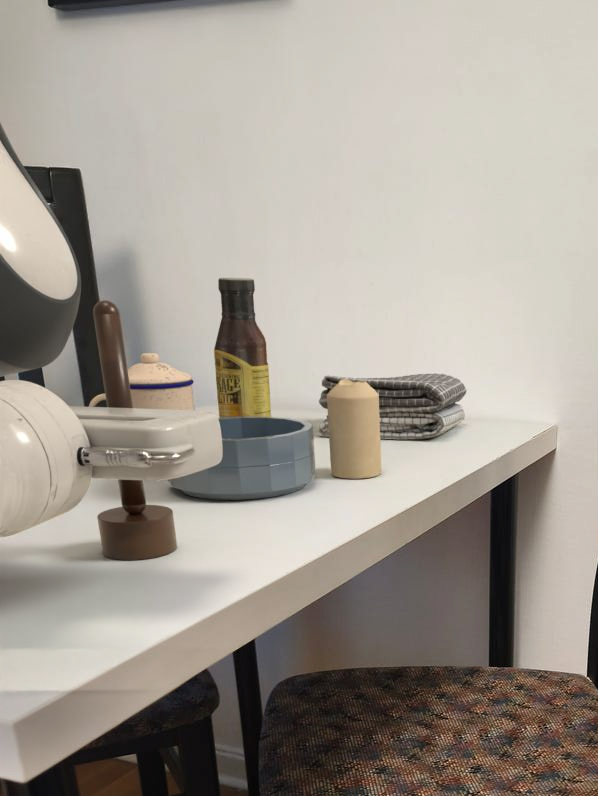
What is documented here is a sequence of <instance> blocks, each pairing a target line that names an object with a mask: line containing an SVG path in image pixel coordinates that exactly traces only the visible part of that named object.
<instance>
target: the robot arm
mask: <svg viewBox="0 0 598 796" xmlns="http://www.w3.org/2000/svg"><path fill="white" fill-rule="evenodd" d="M81 292H82V275H81V271H80V266H79V262H78V258H77V256H76V253H75V251H74V249H73V246H72V244H71V242H70V240H69V238H68V236H67V233H66V232H65V230H64V228H63V226H62V225H61V223H60V221H59V220H58V218H57V216H56V214H55V213H54V211H53V209H52V208H51V207H50V205H49V203H48V202H47V200H46V198H45V197H44V195H43V194H42V192H41V191H40V189H39V188H38V186H37V185H36V183H35V182H34V180H33V179H32V177H31V176H30V174H29V173H28V171H27V169H26V167H25V166H24V165H23V163H22V161H21V159H20V157H19V156H18V155H17V153H16V151H15V149H14V147H13V145H12V144H11V141H10V140H9V137H8V135H7V133H6V131H5V129H4V127H3V125H2V123H1V122H0V378H1V377H5V376H10V375H14V374H19V373H23V372H29V371H32V370H36V369H40V368H41V369H42V368H44V367H46V366H48V365H50V364H52V363H54V361H56V359H58V358H59V356H60V355H61V354H62V352H63V351H64V349H65V347H66V345H67V343H68V340H69V338H70V336H71V334H72V330H73V328H74V325H75V322H76V319H77V316H78V312H79V307H80V301H81V294H82V293H81ZM218 418H219V416H217V415H216V413H215V414H214V413H213V412H212V411H209V410H195V411H194V410H166V409H137V408H109V407H107V406H105V407H104V406H95V407H89V406H79V405H77V406H76V405H68V404H67V403H66V402H65V401H64V400H63V399H62V398H60V397H59V396H58V395H57V394H56V393H54V392H53V391H51V390H50V389H48V388H46V387H44V386H43V385H40V384H37V383H35V382H32V381H27V380H23V379H22V380H21V379H5V380H1V381H0V538H6V537H10V536H14V535H17V534H19V533H22V532H24V531H26V530H29V529H31V528H34V527H36V526H38V525H41V524H43V523H46V522H48V521H51V520H52V519H55V518H57V517H59V516H62V515H64V514H66V513H68V512H70V511H71V510H73V509H74V508H75V507H76V506H78V505H79V504H80V502H82V500H83V499H84V497H85V496H86V494H87V492H88V490H89V488H90V485H91V482H92V479H102V480H118V479H122V480H143V482H144V481H147V482H149V481H150V482H151V481H164V480H168V479H173V478H178V477H182V476H186V475H189V474H192V473H195V472H199V471H202V470H204V469H207V468H210V467H213V466H215V465H217V464H219V463H220V462H221V460H222V456H223V446H222V435H221V428H220V423H219V419H218Z"/></svg>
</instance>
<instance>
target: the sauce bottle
mask: <svg viewBox="0 0 598 796" xmlns="http://www.w3.org/2000/svg"><path fill="white" fill-rule="evenodd" d="M217 283H218V291H219V293H220V303H221V319H220V324H219V326H218V327H219V328H218V331H217V336H216V340H215V344H214V348H213V355H214V357H213V358H214V366H215V367H214V368H215V369H214V370H215V383H216V393H217V405H218V418H219V417H238V416H267V417H272V411H271V410H272V408H271V405H272V404H271V390H270V389H271V388H270V387H271V386H270V372H269V369H270V368H269V363H268V353H267V340H266V337H265V336H264V334H263V332H262V330H261V328H260V327H259V325H258V323H257V322H256V312H255V302H254V301H255V300H254V295H255V290H256V289H255V287H256V286H255V279H253V278H249V277H247V278H246V277H244V278H243V277H219V278H218V281H217Z"/></svg>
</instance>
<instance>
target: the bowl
mask: <svg viewBox="0 0 598 796" xmlns="http://www.w3.org/2000/svg"><path fill="white" fill-rule="evenodd" d="M218 419H219V423H220V428H221V435H222V446H223V456H222V460H221V462H220V463H219V464H217V465H215V466H213V467H210V468H207V469H204V470H202V471H199V472H195V473H192V474H189V475H186V476H182V477H178V478H173V479H167V480H168V483H169V484H170V487H172V488H175V489H178V490H180V492H182V493H184V494H185V495H188V496H190V497H195V498H198V499H205V500H217V501H241V500H242V501H244V500H245V501H246V500H257V499H258V500H259V499H267V498H273V497H274V498H275V497H280V496H284V495H288V494H292V493H295V492H297V491H299V490H301V489H303V488H304V487H305V486H306V484H309V483H310V482H312V481H313V480H314V478H315V477H316V476H317V472H316V470H317V469H316V455H315V438H314V425H313V424H312V423H309V421H306V420H301V419H296V418H290V417H279V416H271V417H267V416H238V417H219V416H218Z"/></svg>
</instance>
